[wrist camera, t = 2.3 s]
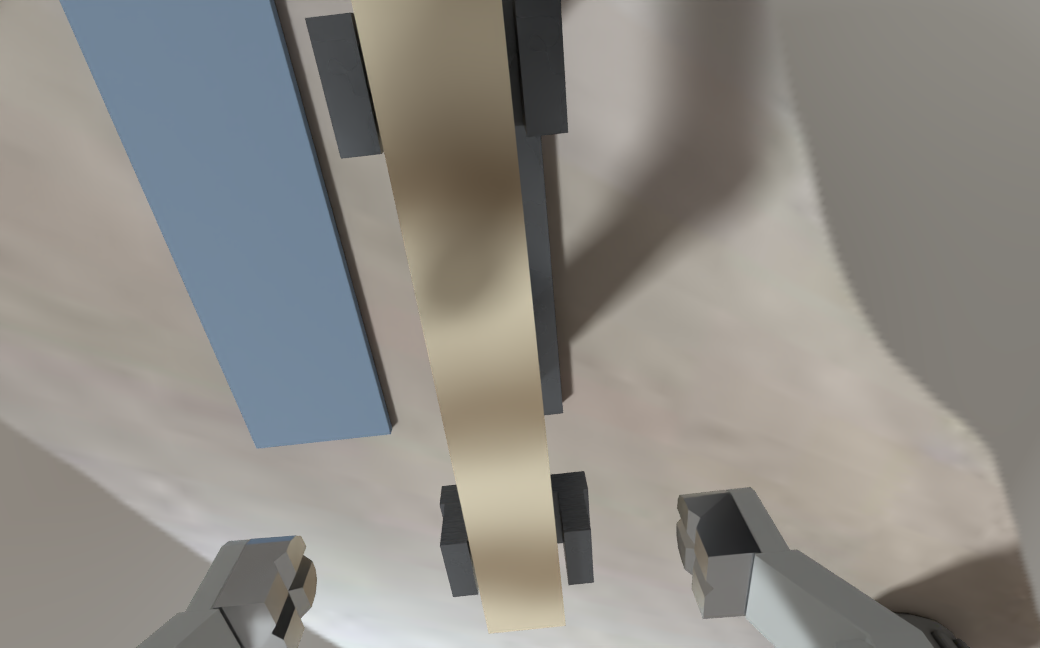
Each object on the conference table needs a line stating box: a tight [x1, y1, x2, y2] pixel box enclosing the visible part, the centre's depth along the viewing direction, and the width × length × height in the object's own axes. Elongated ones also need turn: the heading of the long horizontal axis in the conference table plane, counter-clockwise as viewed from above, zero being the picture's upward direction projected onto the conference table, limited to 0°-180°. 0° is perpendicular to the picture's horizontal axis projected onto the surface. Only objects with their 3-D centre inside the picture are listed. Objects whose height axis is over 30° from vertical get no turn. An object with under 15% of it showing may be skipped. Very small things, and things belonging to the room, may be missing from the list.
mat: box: [60, 0, 392, 448], centre depth 29 cm, size 26×9×1 cm, turn 6°
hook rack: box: [305, 0, 594, 597], centre depth 23 cm, size 25×6×15 cm, turn 6°
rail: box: [351, 0, 566, 634], centre depth 17 cm, size 22×3×3 cm, turn 6°
